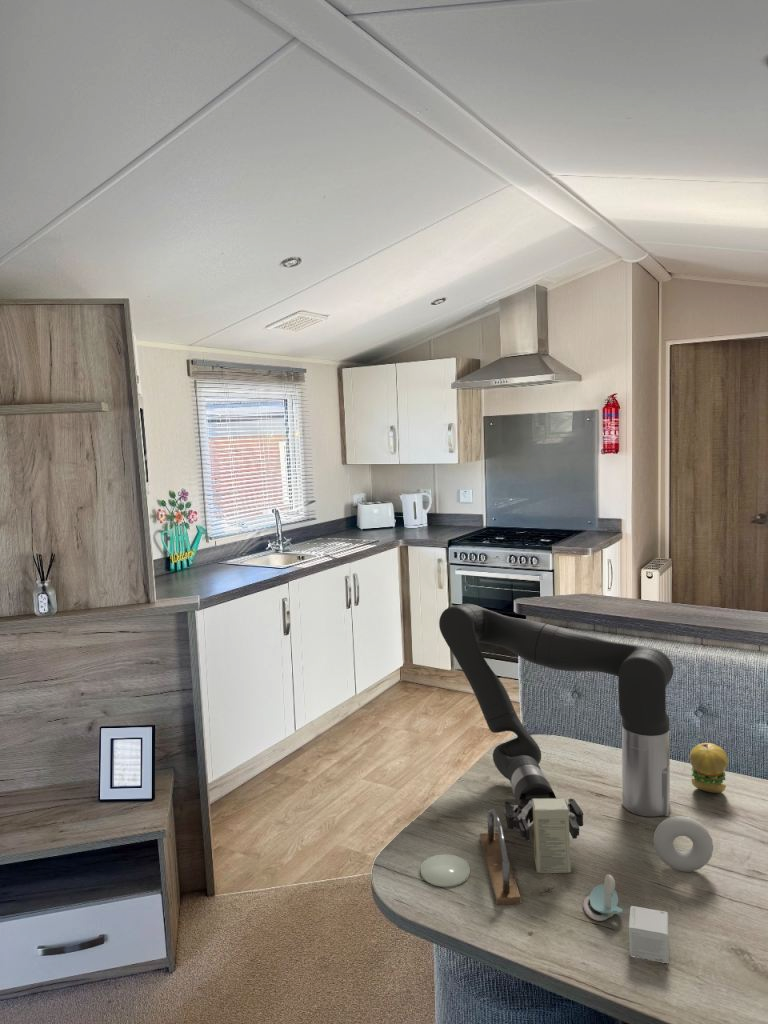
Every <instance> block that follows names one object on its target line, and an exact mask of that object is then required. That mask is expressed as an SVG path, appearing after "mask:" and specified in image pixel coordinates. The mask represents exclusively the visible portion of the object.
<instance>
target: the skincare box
mask: <svg viewBox="0 0 768 1024" xmlns="http://www.w3.org/2000/svg"><path fill="white" fill-rule="evenodd" d="M567 803H568V802H567V800H566V798H565V797H560V798H559V797H556V798H539V799H532V804H533V824H532V825H533V827H532V828H533V845H534V846H533V847H534V849H533V851H534V863H535V870H536V872H537V873H540V874H541V873H542V874H552V873H553V874H557V873H558V874H562V873H563V874H566V873H572V864H571V840H570V839H571V838H570V837H571V834H570V832H569V810H568V806H567Z"/></svg>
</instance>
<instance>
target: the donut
mask: <svg viewBox="0 0 768 1024" xmlns="http://www.w3.org/2000/svg"><path fill="white" fill-rule="evenodd" d="M678 837H679V838H680V837H687V838H688V839H690V841H691V842H692V847H691V848H690V849H688V850H683V851H682V850H679V849H677V848H676V847H675V845H674V842H675V840H676V839H677V838H678ZM713 842H714V841H713V838H712V836H711V834H710V833H709V831H708V828H706V827H705V826H704V824H702V823H701V822H700V821H698V820H696V819H694V818H692V817H688V816H684V815H676V816H675V815H674V816H671V817H668V818H666V819H664V820H662V822H660V823H659V824H658V825H657V827H656V829H655V831H654V834H653V846H654V850H655V852H656V854H657V856H658V858H659V859H660V860H661V861H662V862H663V863H664V864H665V865H666V866H667V867H669V868H672V870H676V871H680V872H684V873H685V872H687V873H688V872H696V871H699V870H701V869H702V868H703V867H704V866H706V865H707V864H708V863H709V861H710V860H711V858H712V857H713V852H714V843H713Z"/></svg>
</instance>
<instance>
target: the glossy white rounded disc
mask: <svg viewBox="0 0 768 1024" xmlns="http://www.w3.org/2000/svg"><path fill="white" fill-rule="evenodd" d="M420 875H421V877H422V879H423V880H424V881H425V882H427V883H428V884H431V885H432V886H437V887H443V888H452V887H456V886H459V885H461V884H463V883H465V882H466V881H467V880H468V879H469V878H470V876H471V866H470V865H469V863H468V862H467V861H466V860H465V859H463V858H462V857H460V856H458V855H457V856H456V855H453V854H438V855H433V856H430V857H428V858H426V859H425V860H424V861H423V862H422V864H421V865H420Z"/></svg>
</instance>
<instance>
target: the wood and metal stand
mask: <svg viewBox="0 0 768 1024" xmlns="http://www.w3.org/2000/svg"><path fill="white" fill-rule="evenodd" d="M495 825H496V828H497V832H495ZM478 834H479V842H480V847H481V850H482V853H483V857H484V861H485V864H486V869H487V873H488V876H489V880H490V883H491V887H492V890H493V894H494V895H493V896H494V897H495V903H496V905H497V906H498V905H514V904H515V905H517V904H519V905H520V904H521V903H522V902H521V894H520V891H519V889H518V885H517V882H516V881H517V880H516V879H515V876H514V873H513V870H512V866H511V863H510V860H509V856H508V850H507V845H506V839H505V834H504V827H503V825H502V822H501V819H500V816H499V814H498V811H497V809H496V808H492V809H490V810H488V811H487V832H486V833H485V832H484V833H478Z"/></svg>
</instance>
